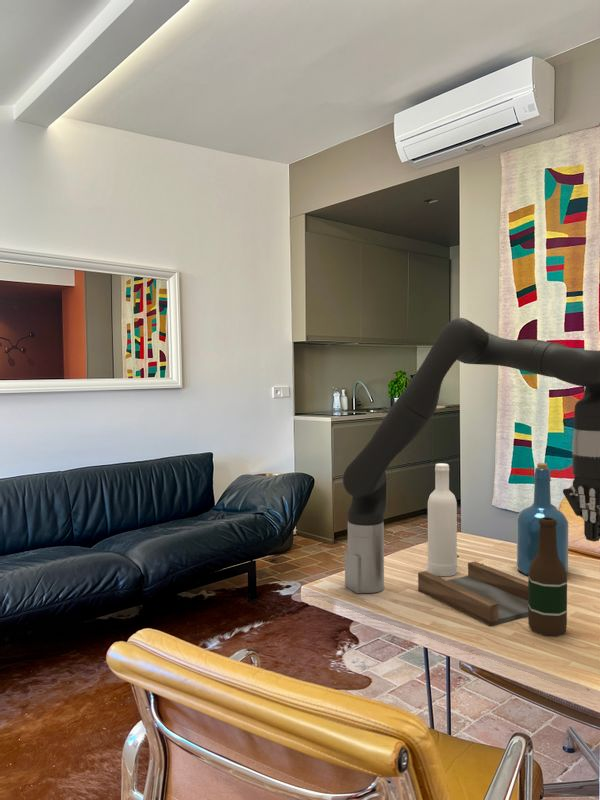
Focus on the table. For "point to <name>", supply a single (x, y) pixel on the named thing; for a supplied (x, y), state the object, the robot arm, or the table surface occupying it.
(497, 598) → the cradle
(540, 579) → the beer bottle
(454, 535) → the bottle
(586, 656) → the table surface
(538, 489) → the wine bottle
